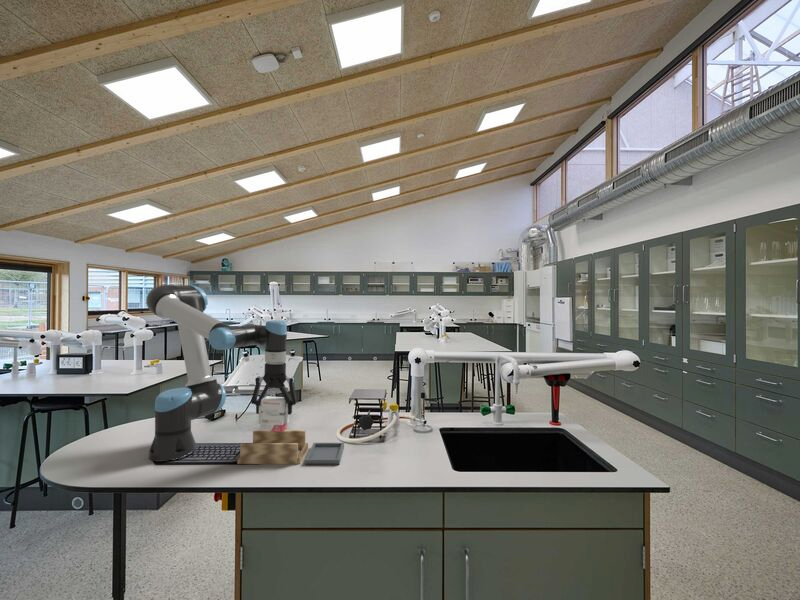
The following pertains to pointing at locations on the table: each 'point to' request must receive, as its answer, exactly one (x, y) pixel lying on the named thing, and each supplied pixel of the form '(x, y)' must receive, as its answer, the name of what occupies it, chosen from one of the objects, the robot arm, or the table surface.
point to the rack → (274, 448)
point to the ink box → (273, 414)
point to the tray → (325, 454)
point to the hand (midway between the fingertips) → (273, 422)
